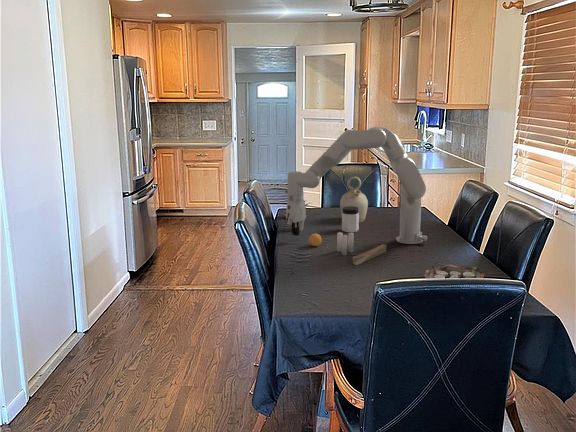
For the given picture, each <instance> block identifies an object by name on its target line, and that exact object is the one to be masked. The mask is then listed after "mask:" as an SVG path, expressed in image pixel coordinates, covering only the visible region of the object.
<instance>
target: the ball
mask: <svg viewBox="0 0 576 432" xmlns="http://www.w3.org/2000/svg"><path fill="white" fill-rule="evenodd" d="M322 241H323V240H322V237H321V235H320V234H318V233H312V234H311V235H309V238H308V242H309V243H308V244H310V245H311V246H312V247H319V246H320V245H321V243H322Z"/></svg>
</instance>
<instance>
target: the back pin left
mask: <svg viewBox="0 0 576 432" xmlns="http://www.w3.org/2000/svg"><path fill="white" fill-rule="evenodd" d="M341 255H342V256H347V255H348V235H346V234H343V235H342V252H341Z"/></svg>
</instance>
